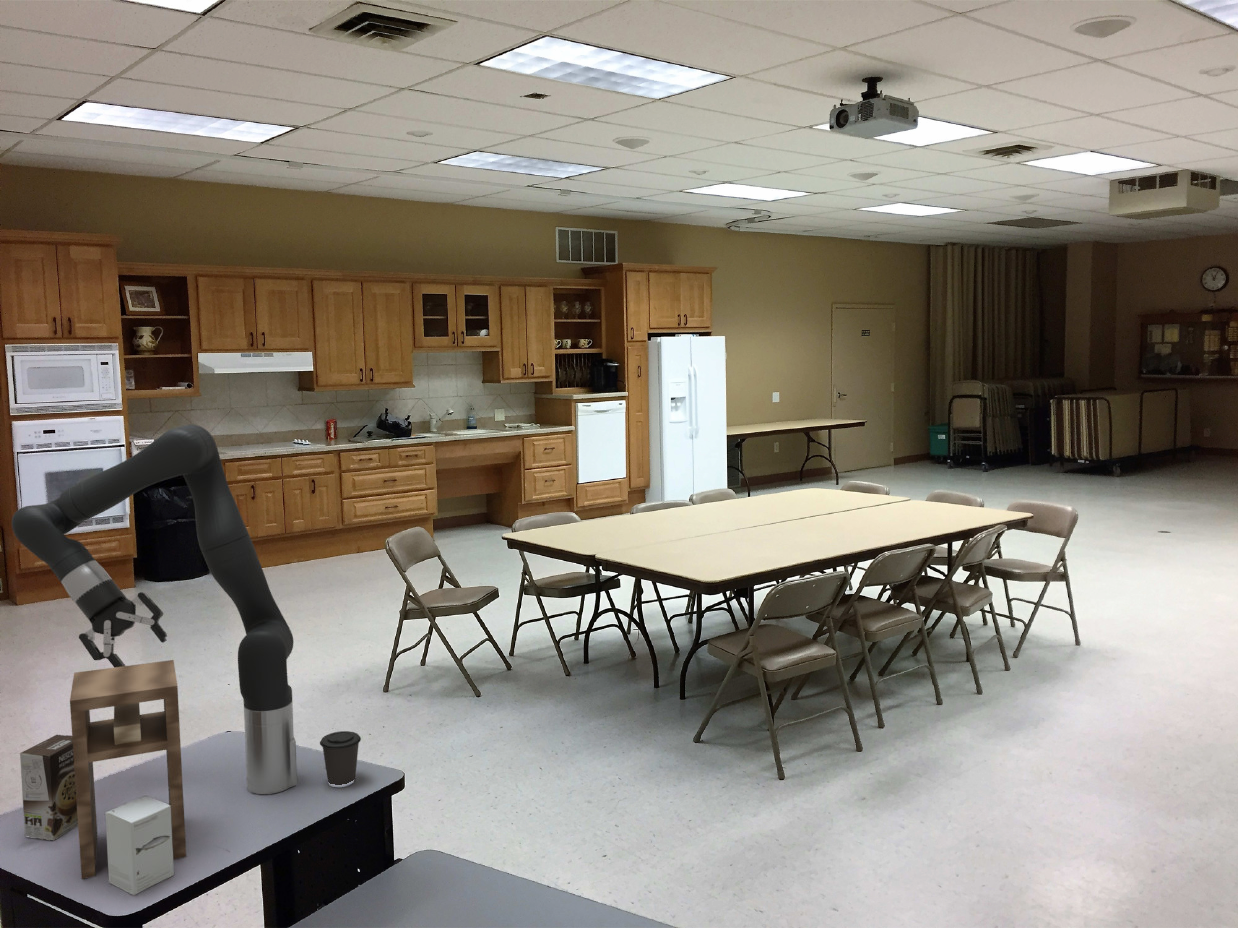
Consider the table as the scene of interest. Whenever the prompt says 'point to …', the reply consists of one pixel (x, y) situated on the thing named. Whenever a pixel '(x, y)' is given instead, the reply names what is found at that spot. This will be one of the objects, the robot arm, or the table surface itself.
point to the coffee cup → (340, 756)
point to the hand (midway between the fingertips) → (144, 655)
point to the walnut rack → (99, 743)
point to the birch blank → (127, 723)
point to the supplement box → (139, 844)
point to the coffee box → (49, 788)
